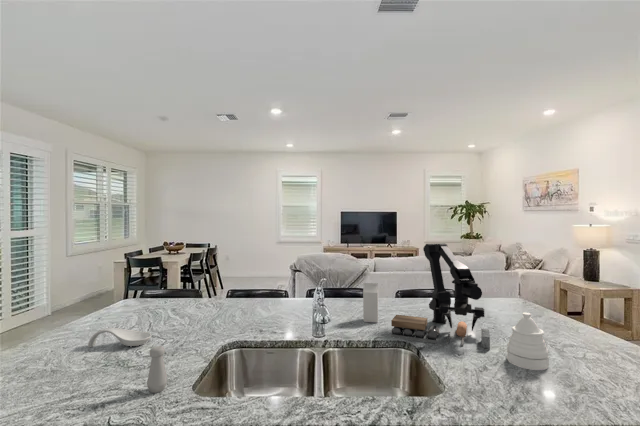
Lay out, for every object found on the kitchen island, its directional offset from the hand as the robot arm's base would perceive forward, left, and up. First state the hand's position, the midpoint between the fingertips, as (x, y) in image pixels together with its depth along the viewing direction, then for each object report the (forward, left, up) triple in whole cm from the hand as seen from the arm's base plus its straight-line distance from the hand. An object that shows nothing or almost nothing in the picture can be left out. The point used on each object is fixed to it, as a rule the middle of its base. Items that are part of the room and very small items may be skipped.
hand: (461, 329), depth 156 cm
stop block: (+12, +9, -2) cm, 15 cm away
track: (+12, -13, -2) cm, 18 cm away
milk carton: (-2, -43, -2) cm, 43 cm away
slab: (+12, -21, +3) cm, 24 cm away
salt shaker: (+93, -83, -2) cm, 125 cm away
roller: (0, 0, -2) cm, 2 cm away
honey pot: (+24, +23, -2) cm, 33 cm away
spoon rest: (+72, -129, -2) cm, 148 cm away
